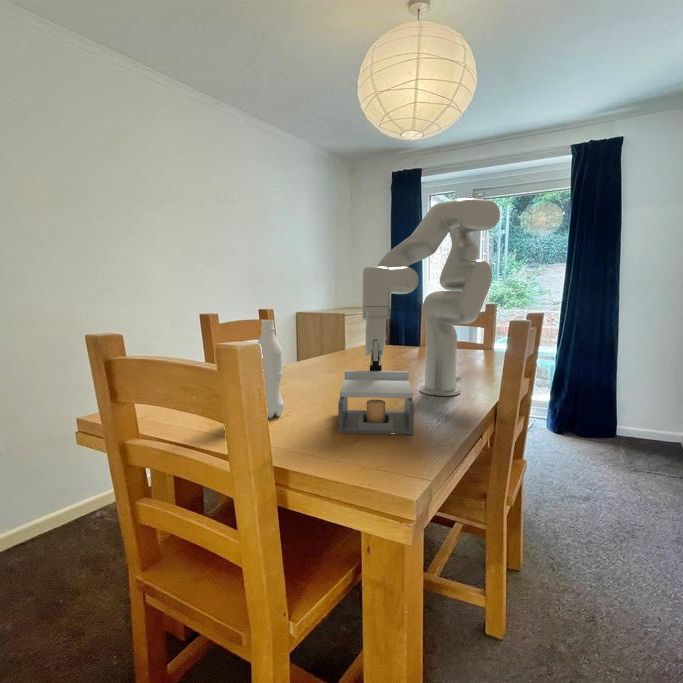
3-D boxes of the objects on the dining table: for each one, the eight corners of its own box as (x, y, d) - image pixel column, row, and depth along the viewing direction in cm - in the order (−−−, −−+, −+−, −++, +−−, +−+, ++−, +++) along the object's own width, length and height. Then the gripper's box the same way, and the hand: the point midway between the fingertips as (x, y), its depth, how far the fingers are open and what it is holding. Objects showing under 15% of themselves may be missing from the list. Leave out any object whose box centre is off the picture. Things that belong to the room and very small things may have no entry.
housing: (343, 412, 109) (343, 386, 108) (408, 414, 107) (408, 387, 106) (338, 432, 94) (338, 402, 93) (413, 434, 93) (413, 404, 92)
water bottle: (285, 410, 111) (283, 318, 107) (282, 419, 104) (280, 321, 100) (258, 411, 111) (255, 318, 107) (254, 419, 104) (250, 321, 100)
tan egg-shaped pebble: (374, 420, 100) (374, 398, 100) (388, 424, 97) (389, 401, 97) (362, 424, 97) (362, 402, 96) (377, 429, 94) (377, 405, 93)
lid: (344, 382, 111) (344, 370, 111) (407, 383, 110) (408, 371, 110) (339, 396, 97) (339, 383, 96) (412, 398, 95) (412, 384, 95)
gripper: (363, 311, 118) (363, 373, 121) (361, 314, 103) (360, 385, 106) (389, 311, 117) (388, 374, 120) (390, 314, 103) (389, 386, 105)
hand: (375, 379), depth 113 cm, fingers closed
